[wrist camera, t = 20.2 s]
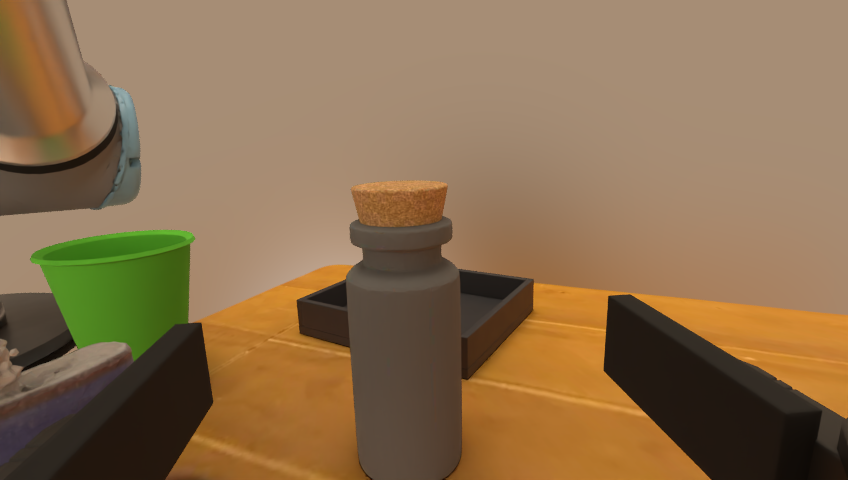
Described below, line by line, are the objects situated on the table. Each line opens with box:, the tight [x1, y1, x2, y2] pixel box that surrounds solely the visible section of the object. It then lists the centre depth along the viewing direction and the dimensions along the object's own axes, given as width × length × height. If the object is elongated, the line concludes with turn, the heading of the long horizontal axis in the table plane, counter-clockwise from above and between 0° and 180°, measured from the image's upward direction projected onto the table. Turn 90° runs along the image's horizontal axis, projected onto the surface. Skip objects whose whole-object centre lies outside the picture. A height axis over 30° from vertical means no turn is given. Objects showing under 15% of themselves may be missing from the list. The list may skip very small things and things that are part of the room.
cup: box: [30, 230, 195, 361], centre depth 31 cm, size 9×9×11 cm
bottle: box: [346, 181, 462, 480], centre depth 23 cm, size 6×6×15 cm
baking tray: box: [297, 269, 534, 379], centre depth 43 cm, size 17×15×3 cm
